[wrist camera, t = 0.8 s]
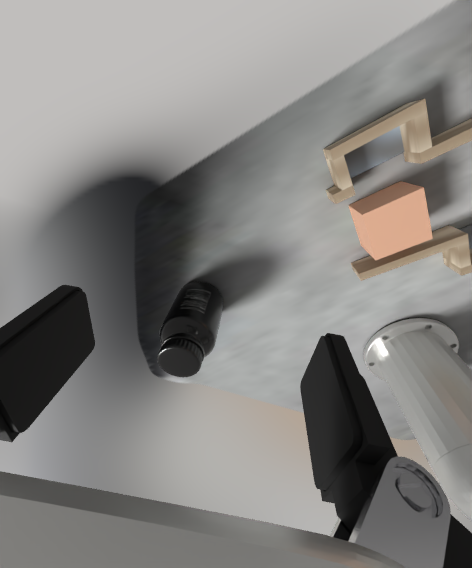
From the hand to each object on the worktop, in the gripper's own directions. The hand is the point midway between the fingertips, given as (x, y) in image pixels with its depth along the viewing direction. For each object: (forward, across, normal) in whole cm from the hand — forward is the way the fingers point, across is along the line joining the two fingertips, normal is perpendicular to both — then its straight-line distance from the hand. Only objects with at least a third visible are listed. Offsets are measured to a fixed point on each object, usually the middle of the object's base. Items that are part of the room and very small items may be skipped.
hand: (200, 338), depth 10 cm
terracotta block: (+23, -16, -2) cm, 28 cm away
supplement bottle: (+23, +4, +14) cm, 27 cm away
